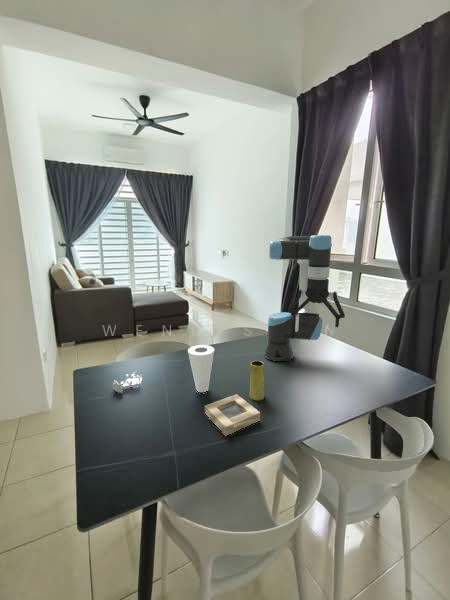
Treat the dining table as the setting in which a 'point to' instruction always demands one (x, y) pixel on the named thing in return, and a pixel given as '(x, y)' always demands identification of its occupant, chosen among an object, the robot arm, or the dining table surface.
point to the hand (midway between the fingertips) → (314, 332)
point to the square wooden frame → (232, 414)
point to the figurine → (127, 381)
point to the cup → (201, 365)
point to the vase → (256, 380)
